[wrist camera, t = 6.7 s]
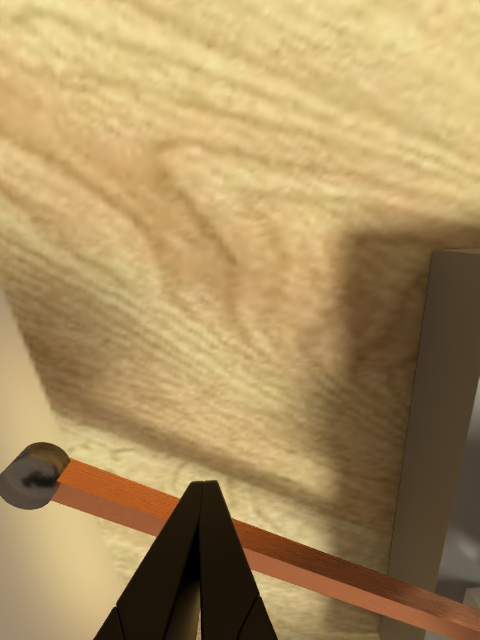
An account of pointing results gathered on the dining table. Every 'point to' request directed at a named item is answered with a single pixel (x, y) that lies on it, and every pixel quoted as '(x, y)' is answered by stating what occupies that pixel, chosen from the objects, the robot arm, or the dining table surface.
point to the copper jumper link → (259, 545)
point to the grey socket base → (442, 447)
